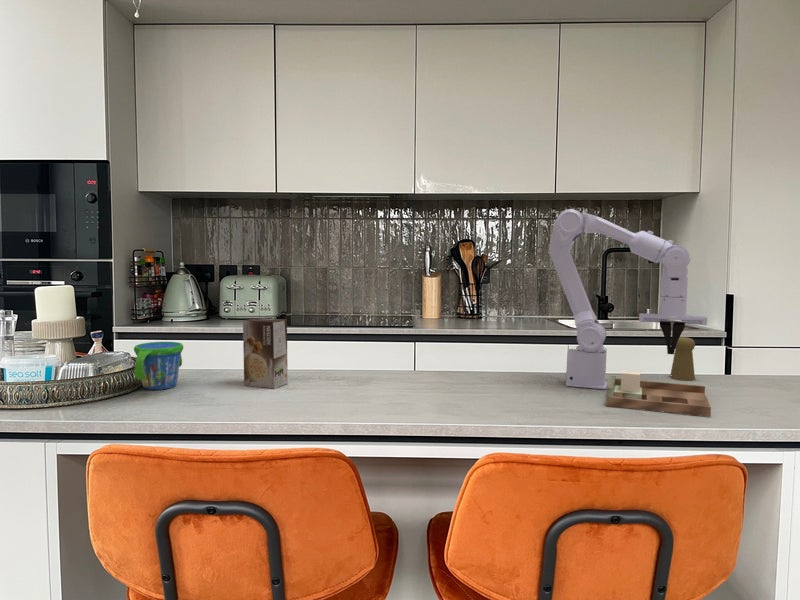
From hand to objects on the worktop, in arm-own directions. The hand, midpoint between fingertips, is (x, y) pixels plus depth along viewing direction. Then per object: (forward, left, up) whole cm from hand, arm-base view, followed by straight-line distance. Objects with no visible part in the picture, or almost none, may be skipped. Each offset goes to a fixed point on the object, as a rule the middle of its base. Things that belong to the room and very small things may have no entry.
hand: (670, 353), depth 139 cm
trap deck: (-3, -13, -9) cm, 16 cm away
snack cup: (-112, -47, -10) cm, 122 cm away
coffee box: (-91, -34, -10) cm, 98 cm away
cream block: (-8, -10, -7) cm, 15 cm away
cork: (+4, +20, -10) cm, 23 cm away
